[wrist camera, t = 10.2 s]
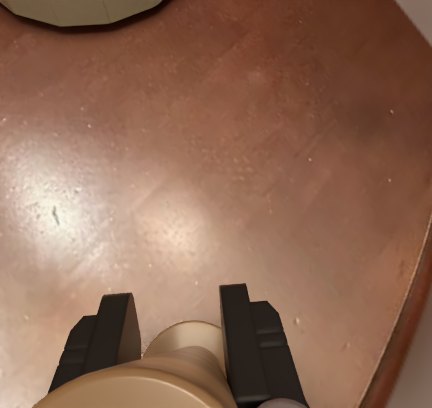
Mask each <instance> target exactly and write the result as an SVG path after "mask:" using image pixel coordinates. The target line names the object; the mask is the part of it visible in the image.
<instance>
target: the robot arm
mask: <svg viewBox="0 0 432 408" xmlns="http://www.w3.org/2000/svg"><path fill="white" fill-rule="evenodd" d="M219 292H220V310H221V327H222V341H223V351H224V361H225V370H226V379H227V382H228V385H229V387H230V390H231V392H232V395H233V397H234V400H235V402H236V405H237V407H238V408H310V407H309V405H308V404H307V402H306V400H305V397H304V395H303V391H302V388H301V385H300V381H299V378H298V375H297V372H296V368H295V365H294V362H293V359H292V355H291V352H290V349H289V346H288V343H287V339H286V336H285V333H284V330H283V326H282V323H281V319H280V316H279V313H278V312H277V311H276V310H275V309H274V308H273V307H272V306H271V305H270V304H269V303H268V301H258V302H250V300H249V295H248V291H247V286H246V284H245V283H243V284H231V285H219ZM139 359H141V337H140V331H139V325H138V319H137V314H136V308H135V303H134V297H133V294H132V293H120V294H108V295H103V297H102V299H101V303H100V306H99V310H98V313H97V315H90V316H83V317H82V319H81V320H80V321H79V322H78V323H77V324H76V325H75V326H74V328H73V329H72V330H71V331H70V334H69V336H68V339H67V342H66V345H65V347H64V351H63V353H62V356H61V358H60V361H59V366H58V367H57V369H56V372H55V375H54V378H53V380H52V383H51V386H50V389H49V391H48V394H49V393H50V392H52V391H54V390H55V389H57V388H59V387H60V386H62V385H64V384H65V383H67V382H69V381H71V380H73V379H76V378H78V377H80V376H82V375H85V374H88V373H91V372H95V371H98V370H101V369H105V368H109V367H112V366H116V365H120V364H124V363H128V362H131V361H135V360H139ZM48 394H47V395H48Z"/></svg>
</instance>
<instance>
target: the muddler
mask: <svg viewBox="0 0 432 408" xmlns="http://www.w3.org/2000/svg"><path fill="white" fill-rule="evenodd" d="M32 408H238V407H237V405H236V402H235V400H234V397H233V395H232V392H231V390H230V387H229V385H228V382H227V379H226V370H225V361H224V351H223V341H222V329H221V328H219V327H218V326H216V325H213V324H211V323H207V322H203V321H185V322H181V323H177V324H175V325H173V326H170V327H169V328H167V329H165V330H164V331H162V332H161V333H160V334H159V335H158V336H157V337H156V338H155V339H154V340H153V341H152V342H151V344H150V345H149V346H148V348H147V350H146V352H145V354H144V356H143V358H142V359H139V360H135V361H131V362H128V363H124V364H120V365H116V366H112V367H109V368H105V369H101V370H98V371H95V372H91V373H88V374H85V375H82V376H80V377H78V378H76V379H73V380H71V381H69V382H67V383H65V384H64V385H62V386H60V387H59V388H57V389H55V390H54V391H52V392H50V393H49V394H48V395H47V396H45V397H44V398H43V399H41V400H40V401H39V402H38V403H36V404H35V405H34V406H33V407H32Z"/></svg>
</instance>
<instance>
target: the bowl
mask: <svg viewBox="0 0 432 408" xmlns="http://www.w3.org/2000/svg"><path fill="white" fill-rule="evenodd" d="M161 1H162V0H0V3H2V4H3V5H4V6H5V7H7V8H8V9H9V10H10V11H12V12H13V13H14V14H16V15H20V16H23V17H27V18H31V19H34V20H38V21H42V22H45V23H49V24H52V25H56V26H80V25H98V24H110V23H113V22H116V21H119V20H121V19H124V18H126V17H129V16H132V15H134V14H137V13H140V12H142V11H145V10H147V9H150V8H153V7H154V6H157V5H158V4H159V3H160V2H161Z"/></svg>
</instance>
